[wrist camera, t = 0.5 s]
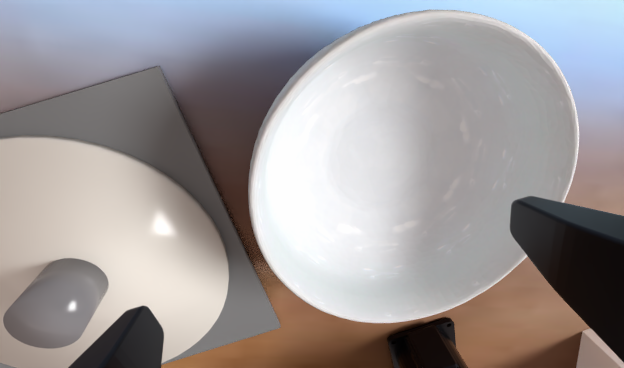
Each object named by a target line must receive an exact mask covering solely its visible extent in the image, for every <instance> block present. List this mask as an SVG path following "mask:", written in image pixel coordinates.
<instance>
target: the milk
mask: <svg viewBox="0 0 624 368" xmlns="http://www.w3.org/2000/svg"><path fill="white" fill-rule="evenodd" d="M576 368H624V363H623V361H622V360H621V359H620V358H619V357H618V356H617V355H616V354H615V353H614V352H613V351H612V350H611V349H610V348H609V347H608V346H607V345H606V344H605V343H604V342H603V341H602V339H601V338H600V337H599V336H598V335H597V334H596V333H595V332H594V331H593V330H592V329H591V328H590V329H587V330H584V331H582V337H581V343H580V349H579V354H578V360H577V366H576Z"/></svg>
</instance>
